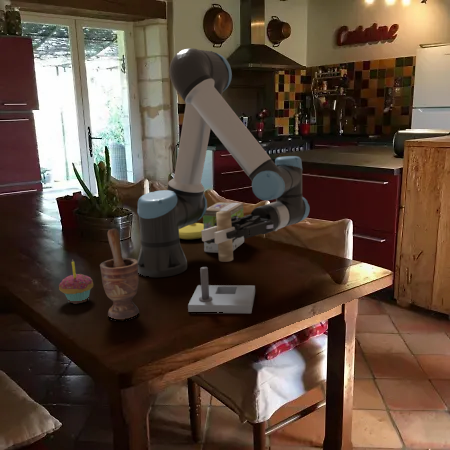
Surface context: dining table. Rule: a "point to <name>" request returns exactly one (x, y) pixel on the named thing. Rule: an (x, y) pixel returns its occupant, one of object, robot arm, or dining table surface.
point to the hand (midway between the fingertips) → (209, 237)
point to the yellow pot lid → (191, 231)
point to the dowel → (225, 247)
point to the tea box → (210, 219)
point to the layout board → (221, 297)
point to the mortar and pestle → (120, 280)
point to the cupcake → (76, 286)
